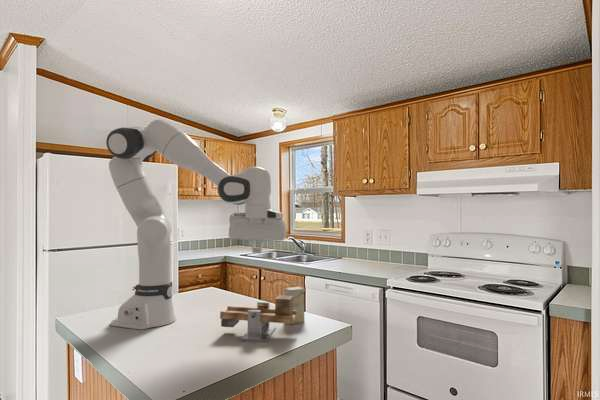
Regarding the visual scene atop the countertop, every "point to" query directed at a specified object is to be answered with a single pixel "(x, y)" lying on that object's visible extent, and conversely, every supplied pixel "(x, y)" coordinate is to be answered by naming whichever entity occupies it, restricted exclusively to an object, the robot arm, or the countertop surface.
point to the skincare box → (297, 302)
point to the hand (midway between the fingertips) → (256, 252)
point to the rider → (284, 305)
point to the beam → (241, 313)
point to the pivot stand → (258, 326)
